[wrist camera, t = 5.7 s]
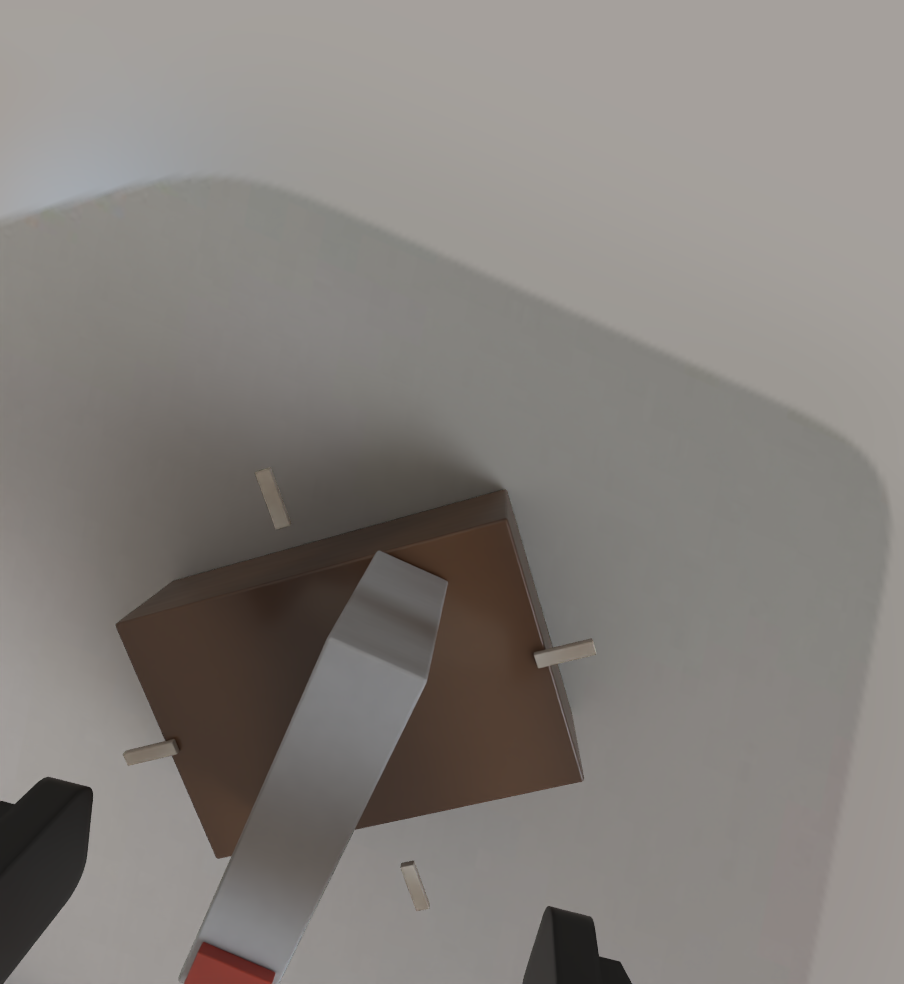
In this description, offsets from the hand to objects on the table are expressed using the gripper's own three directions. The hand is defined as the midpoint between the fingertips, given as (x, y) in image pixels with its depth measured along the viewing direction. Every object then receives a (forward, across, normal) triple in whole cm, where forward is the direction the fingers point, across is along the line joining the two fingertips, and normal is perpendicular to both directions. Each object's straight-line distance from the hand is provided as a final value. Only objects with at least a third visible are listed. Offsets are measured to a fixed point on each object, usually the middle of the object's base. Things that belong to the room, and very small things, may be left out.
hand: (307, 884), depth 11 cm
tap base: (+8, +1, 0) cm, 8 cm away
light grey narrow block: (+5, +1, 0) cm, 5 cm away
